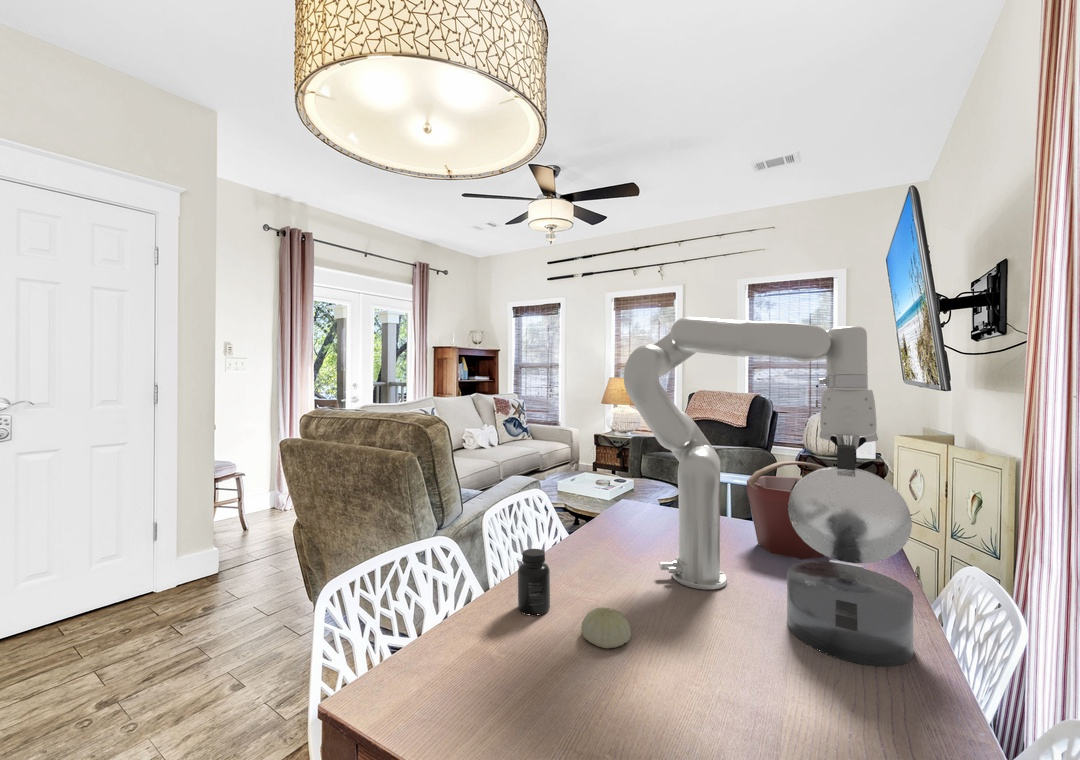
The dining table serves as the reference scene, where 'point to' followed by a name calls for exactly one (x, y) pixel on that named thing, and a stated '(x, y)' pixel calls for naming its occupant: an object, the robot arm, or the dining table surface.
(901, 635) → the cooker pot
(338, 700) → the dining table surface
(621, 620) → the sea urchin shell
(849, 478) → the cooker lid
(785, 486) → the bucket
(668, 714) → the dining table surface
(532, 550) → the supplement bottle
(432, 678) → the dining table surface
